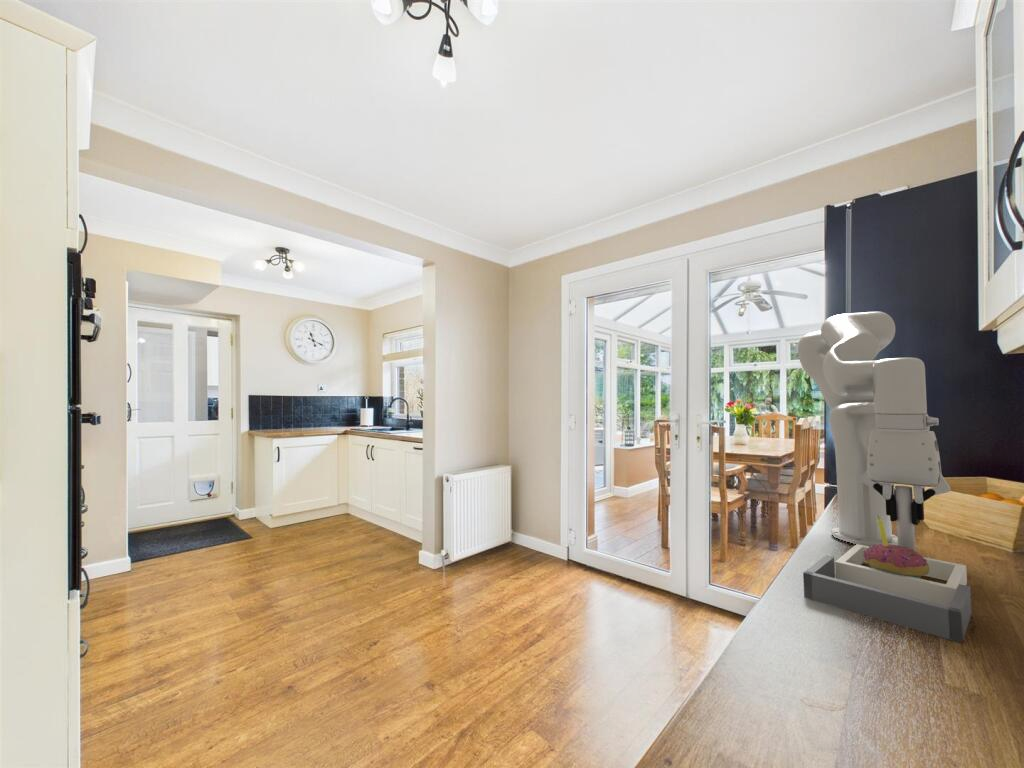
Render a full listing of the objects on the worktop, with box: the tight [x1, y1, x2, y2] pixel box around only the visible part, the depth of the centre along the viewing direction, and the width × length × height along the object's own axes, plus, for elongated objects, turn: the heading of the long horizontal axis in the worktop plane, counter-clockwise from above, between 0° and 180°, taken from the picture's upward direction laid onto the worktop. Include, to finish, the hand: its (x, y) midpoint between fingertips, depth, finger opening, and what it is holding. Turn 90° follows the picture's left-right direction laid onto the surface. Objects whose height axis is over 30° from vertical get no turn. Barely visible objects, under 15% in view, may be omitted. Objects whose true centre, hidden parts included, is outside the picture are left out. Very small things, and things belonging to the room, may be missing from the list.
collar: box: [835, 485, 968, 607], centre depth 78 cm, size 15×15×16 cm
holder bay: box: [802, 554, 973, 644], centre depth 70 cm, size 12×18×4 cm
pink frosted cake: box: [863, 515, 929, 579], centre depth 76 cm, size 9×8×12 cm
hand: (905, 520), depth 82 cm, fingers closed on collar, 2 cm apart
